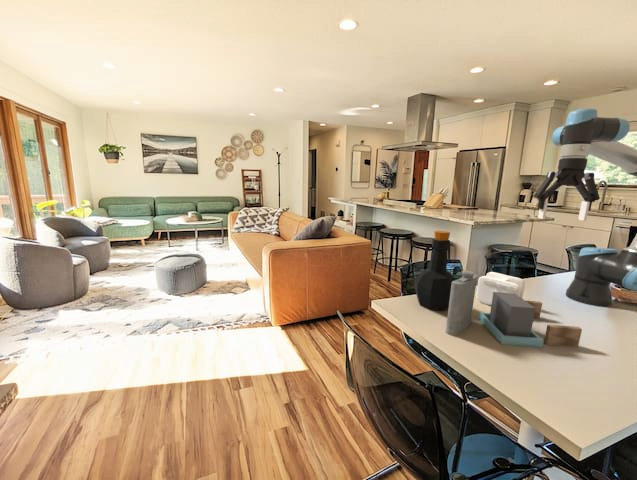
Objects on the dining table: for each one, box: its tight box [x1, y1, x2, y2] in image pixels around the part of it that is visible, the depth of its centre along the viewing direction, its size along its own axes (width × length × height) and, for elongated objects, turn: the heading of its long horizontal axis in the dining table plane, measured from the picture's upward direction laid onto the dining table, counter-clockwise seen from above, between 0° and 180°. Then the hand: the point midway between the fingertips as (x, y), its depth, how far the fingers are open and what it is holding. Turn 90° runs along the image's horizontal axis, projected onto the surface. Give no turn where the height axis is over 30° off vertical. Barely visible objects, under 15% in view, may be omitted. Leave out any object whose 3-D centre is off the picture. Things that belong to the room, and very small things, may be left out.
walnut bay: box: [525, 300, 583, 348], centre depth 103 cm, size 9×21×6 cm, turn 174°
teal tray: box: [477, 312, 544, 348], centre depth 100 cm, size 12×17×2 cm
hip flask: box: [445, 270, 478, 336], centre depth 101 cm, size 16×4×20 cm, turn 134°
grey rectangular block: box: [489, 292, 535, 337], centre depth 99 cm, size 7×12×11 cm, turn 174°
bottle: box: [413, 230, 456, 312], centre depth 118 cm, size 16×16×30 cm
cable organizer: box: [475, 271, 526, 306], centre depth 122 cm, size 15×11×12 cm
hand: (561, 219), depth 108 cm, fingers open, 13 cm apart
